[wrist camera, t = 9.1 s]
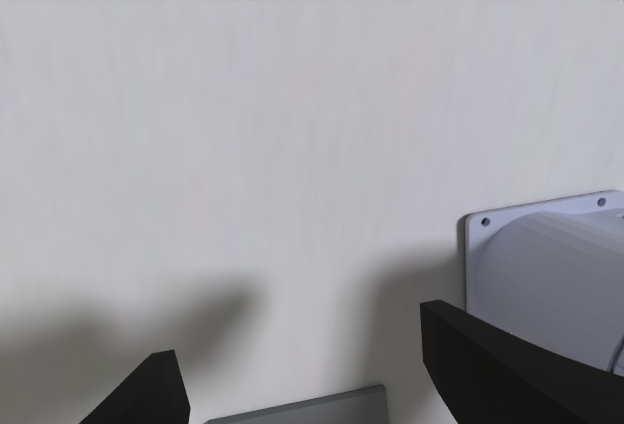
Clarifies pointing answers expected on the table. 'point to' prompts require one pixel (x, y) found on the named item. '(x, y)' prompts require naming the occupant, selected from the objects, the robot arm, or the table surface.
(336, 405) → the charcoal mat
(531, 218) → the robot arm
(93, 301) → the table surface
